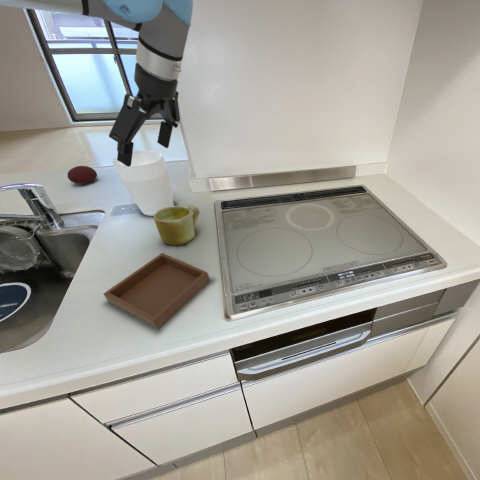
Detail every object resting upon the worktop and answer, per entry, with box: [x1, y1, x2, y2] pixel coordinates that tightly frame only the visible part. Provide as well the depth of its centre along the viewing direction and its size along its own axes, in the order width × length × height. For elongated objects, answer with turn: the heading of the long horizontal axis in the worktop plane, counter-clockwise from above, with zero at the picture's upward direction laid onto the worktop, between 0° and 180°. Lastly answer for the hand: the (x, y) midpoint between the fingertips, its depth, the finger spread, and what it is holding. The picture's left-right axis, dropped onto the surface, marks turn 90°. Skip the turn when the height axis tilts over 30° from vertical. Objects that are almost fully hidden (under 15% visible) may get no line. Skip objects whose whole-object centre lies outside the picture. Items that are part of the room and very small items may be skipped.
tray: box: [103, 252, 211, 330], centre depth 58 cm, size 15×15×3 cm
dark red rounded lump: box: [67, 165, 98, 185], centre depth 94 cm, size 7×8×6 cm
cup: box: [112, 149, 175, 217], centre depth 80 cm, size 13×13×17 cm
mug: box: [153, 204, 201, 246], centre depth 73 cm, size 12×10×10 cm
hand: (145, 153), depth 66 cm, fingers open, 13 cm apart
